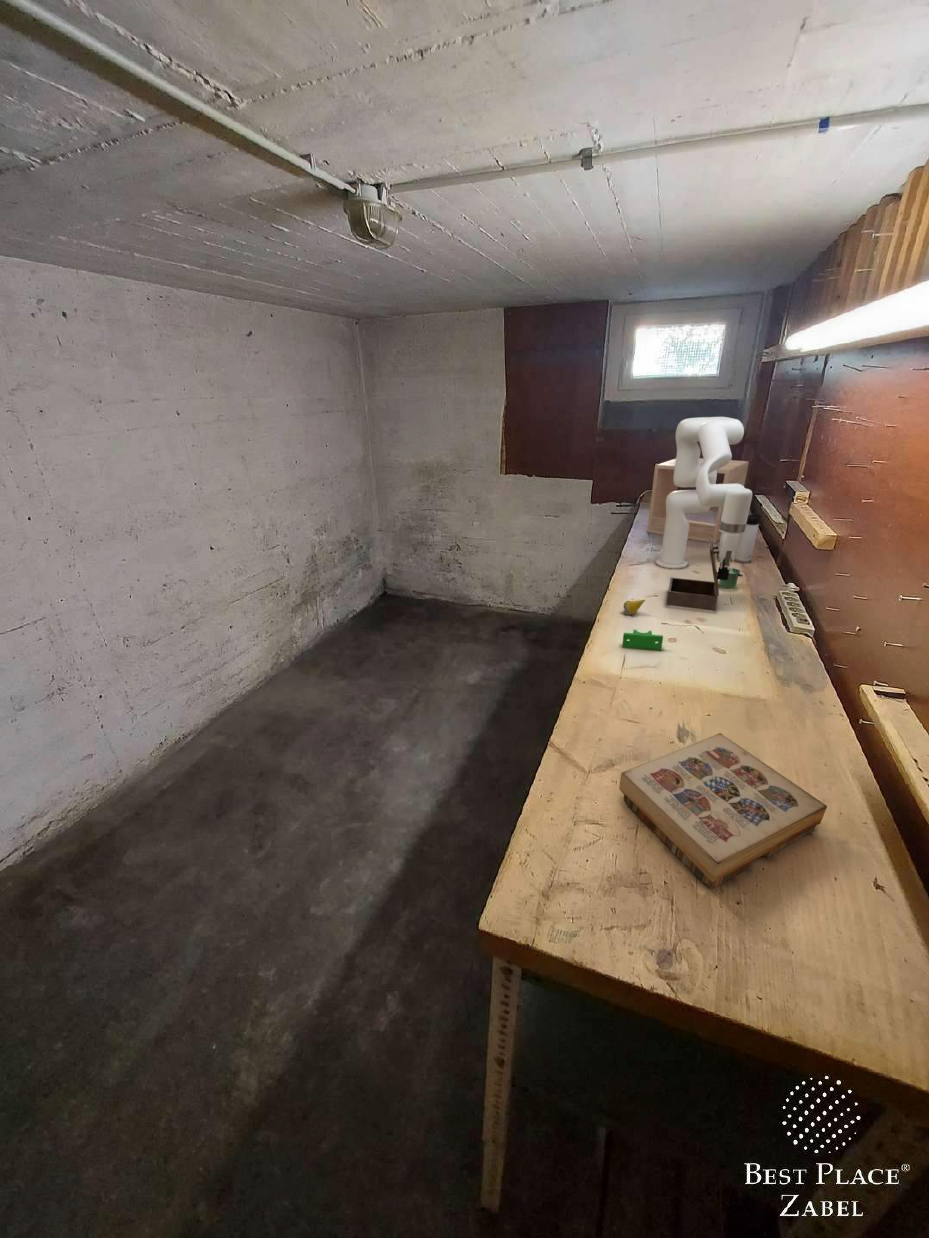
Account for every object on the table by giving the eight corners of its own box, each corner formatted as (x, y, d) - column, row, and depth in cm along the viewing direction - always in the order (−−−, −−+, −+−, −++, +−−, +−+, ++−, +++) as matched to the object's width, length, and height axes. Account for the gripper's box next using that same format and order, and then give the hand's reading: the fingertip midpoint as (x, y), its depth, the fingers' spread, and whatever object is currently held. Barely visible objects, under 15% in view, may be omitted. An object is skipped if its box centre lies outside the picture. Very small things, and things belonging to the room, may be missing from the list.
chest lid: (709, 550, 158) (725, 547, 156) (709, 538, 170) (724, 535, 167) (716, 596, 163) (731, 594, 161) (715, 581, 175) (730, 579, 173)
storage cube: (735, 529, 252) (749, 461, 237) (715, 543, 233) (729, 470, 218) (669, 520, 273) (678, 457, 258) (647, 532, 255) (655, 464, 240)
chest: (665, 606, 172) (668, 591, 169) (668, 591, 183) (670, 577, 181) (714, 612, 165) (717, 597, 163) (713, 596, 177) (716, 582, 175)
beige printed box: (709, 745, 107) (608, 787, 97) (715, 722, 104) (611, 763, 94) (823, 828, 86) (709, 891, 76) (834, 802, 84) (717, 864, 74)
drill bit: (629, 610, 171) (651, 597, 164) (628, 622, 168) (650, 609, 160) (618, 602, 170) (639, 589, 162) (616, 614, 167) (639, 601, 159)
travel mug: (753, 563, 206) (763, 517, 198) (736, 563, 208) (746, 517, 199) (748, 558, 212) (758, 513, 203) (732, 558, 213) (741, 513, 205)
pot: (713, 589, 183) (717, 572, 180) (713, 583, 189) (717, 566, 186) (740, 592, 180) (744, 574, 177) (739, 586, 185) (743, 568, 182)
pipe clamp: (659, 644, 148) (662, 631, 146) (661, 650, 145) (663, 637, 143) (621, 641, 150) (623, 628, 148) (622, 647, 147) (623, 633, 145)
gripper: (719, 520, 166) (709, 570, 174) (720, 532, 154) (710, 585, 162) (743, 522, 163) (733, 572, 171) (747, 533, 151) (735, 588, 159)
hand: (722, 578), depth 167 cm, fingers closed
